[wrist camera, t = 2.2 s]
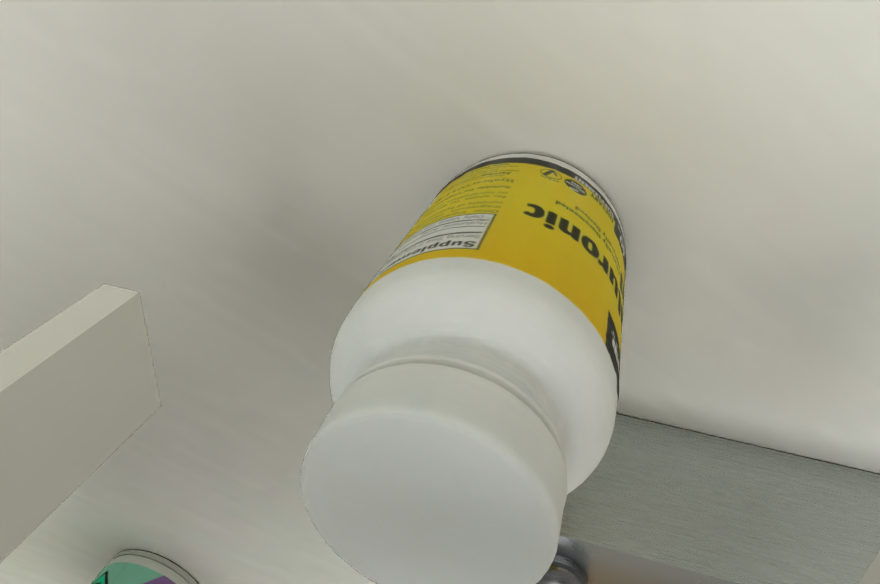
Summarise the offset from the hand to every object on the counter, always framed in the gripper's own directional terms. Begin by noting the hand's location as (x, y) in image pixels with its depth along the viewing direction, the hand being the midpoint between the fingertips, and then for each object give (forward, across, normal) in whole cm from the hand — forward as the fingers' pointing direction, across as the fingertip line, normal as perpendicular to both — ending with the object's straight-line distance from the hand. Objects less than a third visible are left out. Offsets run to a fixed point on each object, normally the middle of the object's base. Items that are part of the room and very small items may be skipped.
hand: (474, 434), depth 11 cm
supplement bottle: (+8, 0, 0) cm, 8 cm away
